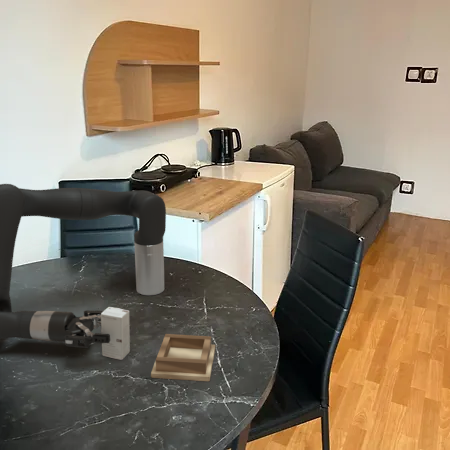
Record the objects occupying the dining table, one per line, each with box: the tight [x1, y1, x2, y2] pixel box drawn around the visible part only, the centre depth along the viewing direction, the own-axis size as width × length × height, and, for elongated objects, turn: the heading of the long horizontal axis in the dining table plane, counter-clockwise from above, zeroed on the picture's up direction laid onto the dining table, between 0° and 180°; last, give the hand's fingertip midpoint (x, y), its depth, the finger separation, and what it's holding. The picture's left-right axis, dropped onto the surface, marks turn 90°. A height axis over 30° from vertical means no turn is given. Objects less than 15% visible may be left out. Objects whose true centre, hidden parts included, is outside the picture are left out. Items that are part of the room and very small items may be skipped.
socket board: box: [150, 333, 216, 382], centre depth 119 cm, size 14×14×4 cm
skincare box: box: [100, 306, 131, 361], centre depth 121 cm, size 6×4×12 cm
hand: (115, 329), depth 121 cm, fingers open, 8 cm apart
